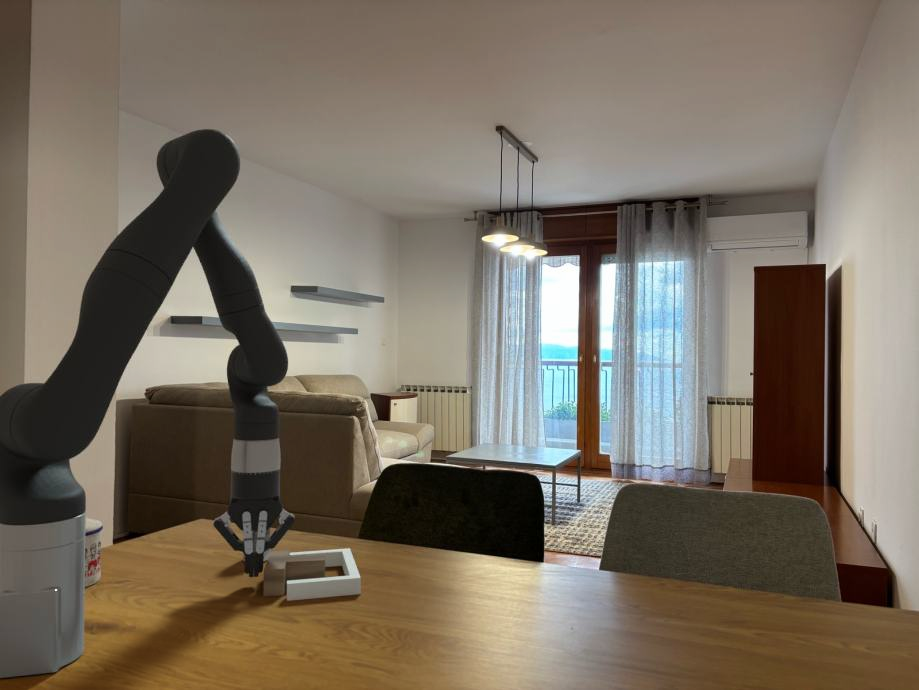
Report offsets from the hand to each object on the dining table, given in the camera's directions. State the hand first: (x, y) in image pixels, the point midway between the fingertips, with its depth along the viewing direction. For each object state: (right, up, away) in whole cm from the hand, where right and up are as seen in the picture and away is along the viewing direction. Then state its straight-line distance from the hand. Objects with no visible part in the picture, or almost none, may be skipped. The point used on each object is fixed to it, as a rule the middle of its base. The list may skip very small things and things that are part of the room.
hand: (254, 575), depth 106 cm
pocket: (+10, -2, +3) cm, 10 cm away
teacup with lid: (-30, -2, +2) cm, 30 cm away
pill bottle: (-4, -2, +13) cm, 14 cm away
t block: (+6, -2, +1) cm, 7 cm away
